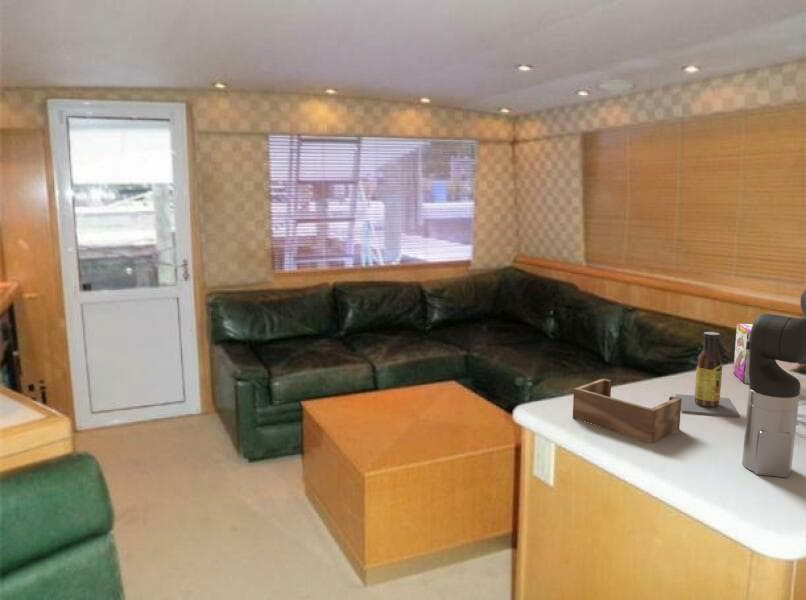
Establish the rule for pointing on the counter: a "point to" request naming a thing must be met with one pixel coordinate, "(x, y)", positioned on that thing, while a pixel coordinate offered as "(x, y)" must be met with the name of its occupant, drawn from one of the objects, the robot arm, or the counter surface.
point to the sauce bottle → (709, 372)
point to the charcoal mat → (722, 409)
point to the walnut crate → (625, 413)
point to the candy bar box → (742, 352)
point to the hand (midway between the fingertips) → (753, 349)
